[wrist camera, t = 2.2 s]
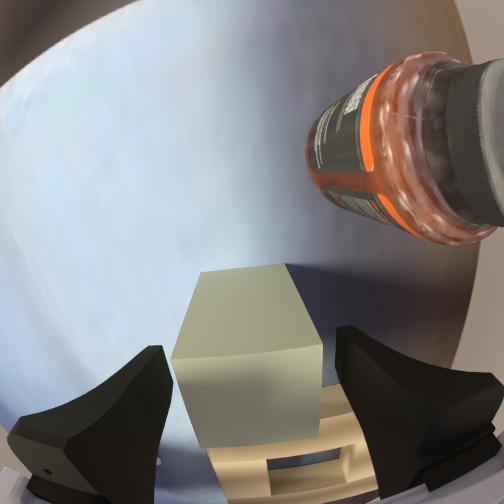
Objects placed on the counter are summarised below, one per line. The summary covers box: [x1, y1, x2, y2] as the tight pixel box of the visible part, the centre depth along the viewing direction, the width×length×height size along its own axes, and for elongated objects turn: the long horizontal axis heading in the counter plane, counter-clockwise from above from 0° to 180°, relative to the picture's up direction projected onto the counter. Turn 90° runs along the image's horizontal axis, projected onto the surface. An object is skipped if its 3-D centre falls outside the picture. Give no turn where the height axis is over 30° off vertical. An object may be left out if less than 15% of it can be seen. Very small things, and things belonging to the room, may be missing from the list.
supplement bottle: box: [306, 51, 504, 246], centre depth 9 cm, size 6×6×11 cm
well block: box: [206, 384, 378, 504], centre depth 19 cm, size 14×14×3 cm
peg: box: [171, 263, 323, 448], centre depth 13 cm, size 4×4×8 cm
